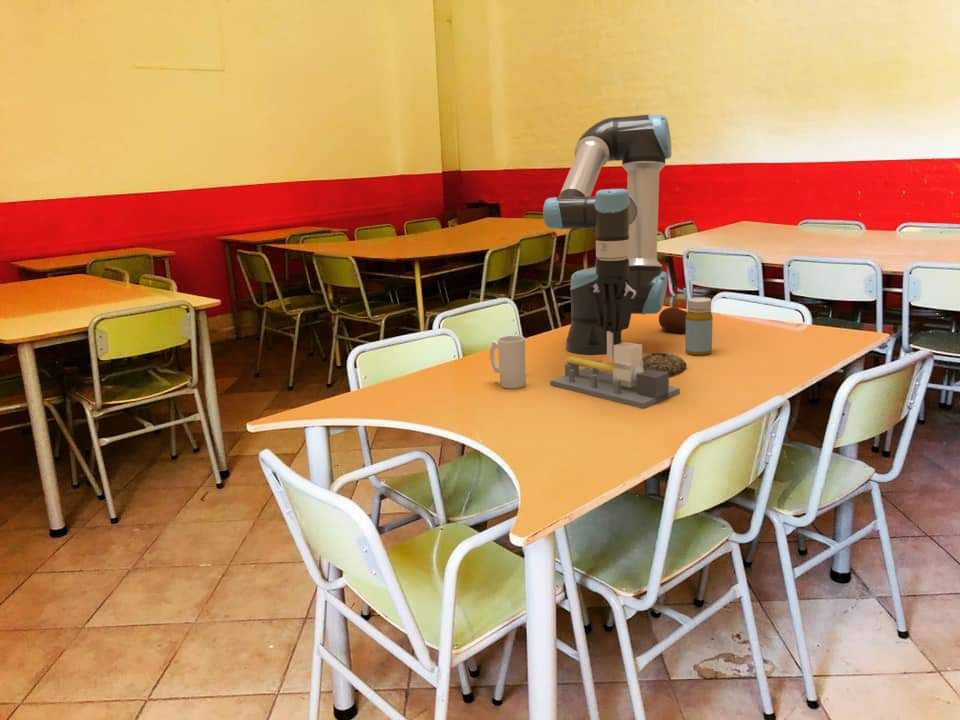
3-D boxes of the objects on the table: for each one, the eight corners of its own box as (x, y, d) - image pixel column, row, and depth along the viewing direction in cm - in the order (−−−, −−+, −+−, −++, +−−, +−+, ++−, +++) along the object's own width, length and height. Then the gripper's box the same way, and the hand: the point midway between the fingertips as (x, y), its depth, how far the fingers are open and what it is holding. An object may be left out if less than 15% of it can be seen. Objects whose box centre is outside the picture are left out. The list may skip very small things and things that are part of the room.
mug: (531, 383, 188) (530, 337, 185) (517, 390, 183) (514, 343, 179) (499, 378, 194) (496, 333, 190) (483, 385, 188) (481, 339, 185)
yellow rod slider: (550, 385, 185) (549, 359, 184) (587, 372, 194) (586, 347, 192) (643, 408, 165) (643, 379, 163) (679, 393, 174) (680, 365, 172)
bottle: (683, 355, 204) (684, 301, 201) (686, 349, 211) (687, 296, 207) (710, 356, 202) (711, 302, 198) (712, 350, 208) (714, 297, 204)
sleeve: (613, 383, 176) (612, 345, 173) (625, 378, 179) (625, 341, 177) (630, 387, 172) (630, 348, 170) (642, 382, 175) (643, 344, 173)
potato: (687, 336, 225) (687, 310, 222) (652, 332, 232) (652, 307, 230) (697, 331, 230) (698, 306, 228) (663, 327, 237) (663, 303, 235)
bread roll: (692, 368, 193) (693, 350, 192) (668, 380, 185) (668, 361, 183) (649, 361, 202) (649, 343, 200) (624, 372, 193) (624, 354, 192)
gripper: (580, 258, 173) (581, 356, 180) (625, 262, 164) (625, 365, 170) (600, 254, 178) (601, 350, 184) (645, 257, 169) (645, 358, 175)
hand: (613, 357), depth 177 cm, fingers closed
